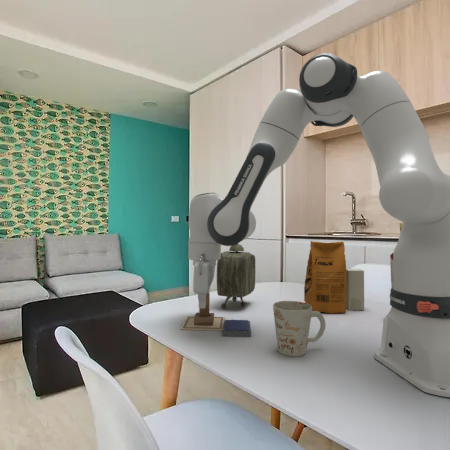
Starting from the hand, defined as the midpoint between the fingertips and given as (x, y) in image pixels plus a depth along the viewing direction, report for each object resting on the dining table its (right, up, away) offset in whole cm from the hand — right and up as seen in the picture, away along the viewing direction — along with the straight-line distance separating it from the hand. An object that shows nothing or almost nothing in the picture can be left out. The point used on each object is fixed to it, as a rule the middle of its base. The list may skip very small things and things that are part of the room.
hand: (204, 303), depth 91 cm
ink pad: (+9, -6, -5) cm, 12 cm away
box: (+48, -6, +17) cm, 51 cm away
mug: (+22, -6, -18) cm, 29 cm away
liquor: (+56, -6, +3) cm, 57 cm away
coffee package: (+38, -6, +16) cm, 41 cm away
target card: (0, -6, 0) cm, 6 cm away
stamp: (0, -5, 0) cm, 5 cm away
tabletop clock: (+10, -6, +20) cm, 23 cm away
